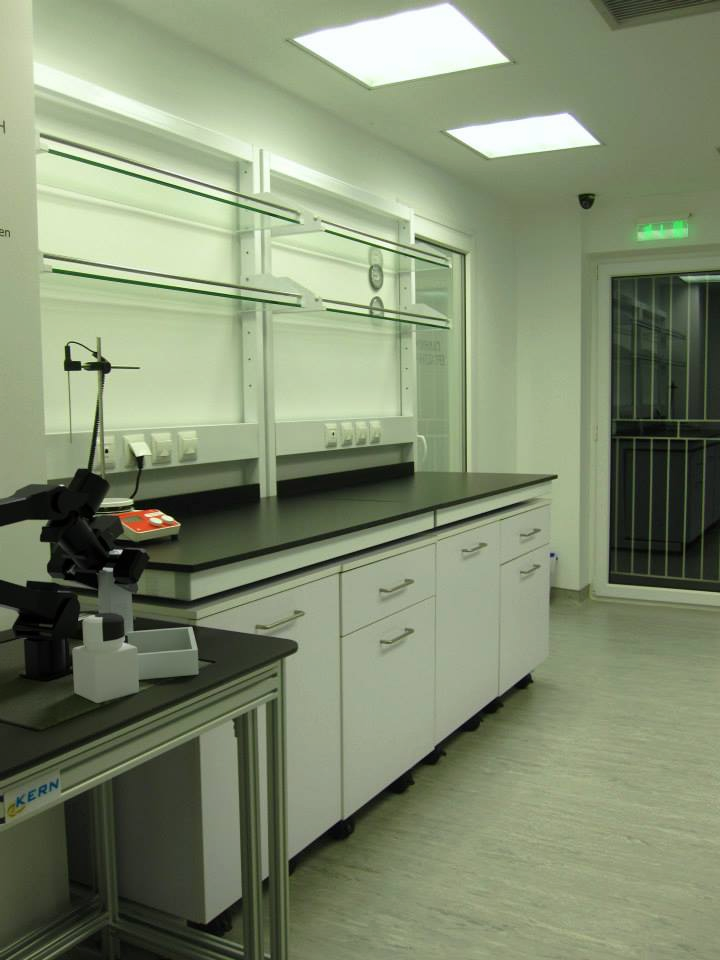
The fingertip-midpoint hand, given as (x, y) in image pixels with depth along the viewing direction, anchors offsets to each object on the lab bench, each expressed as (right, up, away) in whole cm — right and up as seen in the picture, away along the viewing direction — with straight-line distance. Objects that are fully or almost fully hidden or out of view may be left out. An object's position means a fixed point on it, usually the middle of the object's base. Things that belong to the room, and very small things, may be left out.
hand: (119, 590), depth 163 cm
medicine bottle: (+5, -12, -27) cm, 30 cm away
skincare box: (0, -8, -1) cm, 8 cm away
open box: (+10, -11, -13) cm, 20 cm away
